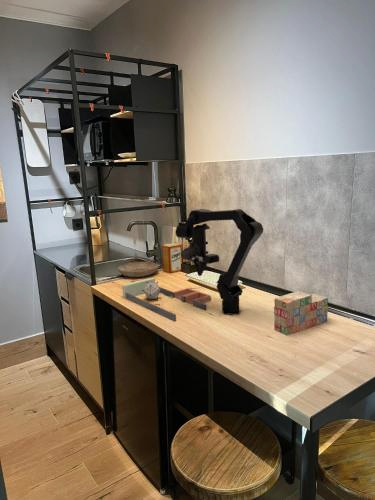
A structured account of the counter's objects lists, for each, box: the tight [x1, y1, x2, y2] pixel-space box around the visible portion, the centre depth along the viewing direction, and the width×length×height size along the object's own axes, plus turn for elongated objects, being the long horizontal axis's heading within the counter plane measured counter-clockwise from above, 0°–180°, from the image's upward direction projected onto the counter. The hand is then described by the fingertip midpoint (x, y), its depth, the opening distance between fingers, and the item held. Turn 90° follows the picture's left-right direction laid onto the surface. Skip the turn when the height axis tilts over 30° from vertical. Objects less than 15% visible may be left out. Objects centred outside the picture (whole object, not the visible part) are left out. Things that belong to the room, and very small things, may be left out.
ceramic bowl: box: [117, 261, 160, 278], centre depth 213 cm, size 23×24×5 cm
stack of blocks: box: [273, 290, 329, 336], centre depth 135 cm, size 21×6×12 cm, turn 122°
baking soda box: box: [161, 242, 184, 275], centre depth 216 cm, size 10×6×16 cm
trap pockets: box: [173, 287, 212, 306], centre depth 168 cm, size 16×9×2 cm, turn 39°
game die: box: [142, 281, 162, 301], centre depth 170 cm, size 9×8×10 cm
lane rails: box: [125, 286, 208, 322], centre depth 163 cm, size 38×17×2 cm, turn 39°
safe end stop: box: [121, 277, 156, 299], centre depth 178 cm, size 2×17×6 cm, turn 129°
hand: (200, 275), depth 158 cm, fingers closed
